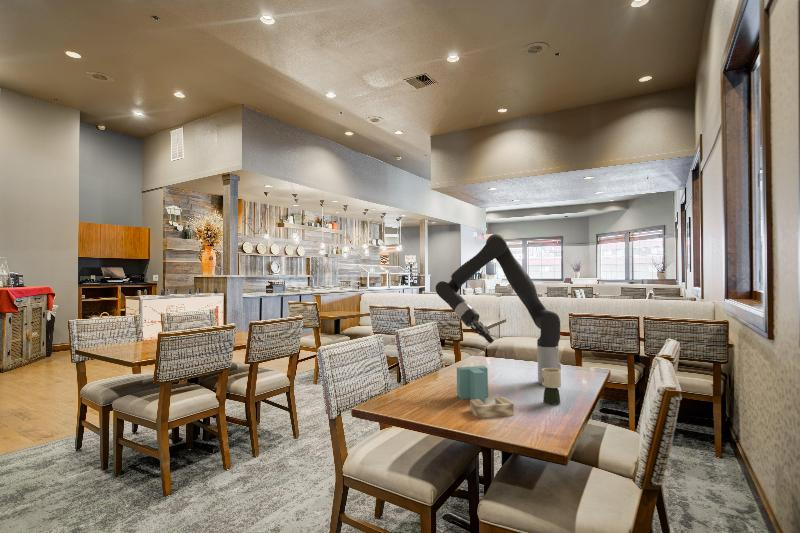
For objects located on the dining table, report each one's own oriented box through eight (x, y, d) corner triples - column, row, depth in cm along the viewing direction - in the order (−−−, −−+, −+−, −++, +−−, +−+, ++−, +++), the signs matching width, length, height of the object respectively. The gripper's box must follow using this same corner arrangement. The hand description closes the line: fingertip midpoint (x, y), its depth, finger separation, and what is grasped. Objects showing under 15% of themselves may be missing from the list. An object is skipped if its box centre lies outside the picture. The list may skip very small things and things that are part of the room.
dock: (504, 407, 161) (503, 397, 161) (513, 415, 153) (513, 404, 153) (470, 410, 159) (469, 399, 159) (477, 418, 151) (477, 406, 151)
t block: (484, 394, 179) (483, 365, 179) (494, 402, 168) (493, 371, 169) (457, 396, 177) (456, 367, 177) (465, 404, 166) (464, 373, 167)
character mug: (546, 398, 172) (545, 366, 172) (564, 400, 168) (564, 368, 168) (538, 405, 163) (537, 371, 163) (557, 408, 159) (556, 373, 159)
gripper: (468, 321, 197) (492, 349, 187) (454, 318, 187) (479, 346, 177) (478, 310, 195) (503, 337, 185) (465, 305, 185) (491, 334, 175)
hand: (491, 341), depth 181 cm, fingers closed
